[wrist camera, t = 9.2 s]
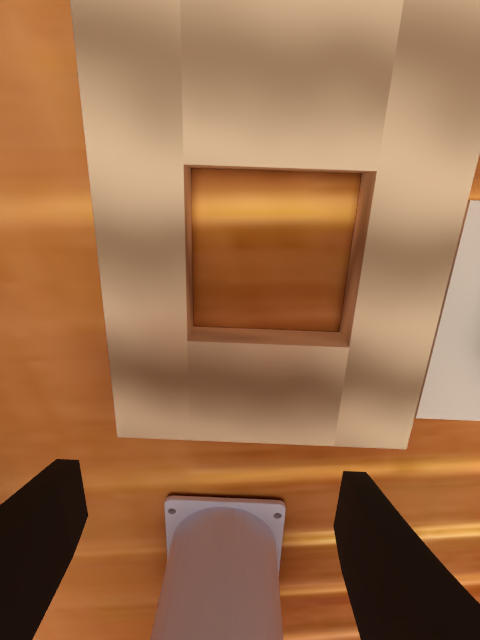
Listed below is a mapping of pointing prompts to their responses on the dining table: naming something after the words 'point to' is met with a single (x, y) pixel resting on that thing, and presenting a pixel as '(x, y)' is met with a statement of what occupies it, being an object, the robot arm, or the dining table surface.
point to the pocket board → (279, 155)
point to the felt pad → (457, 335)
